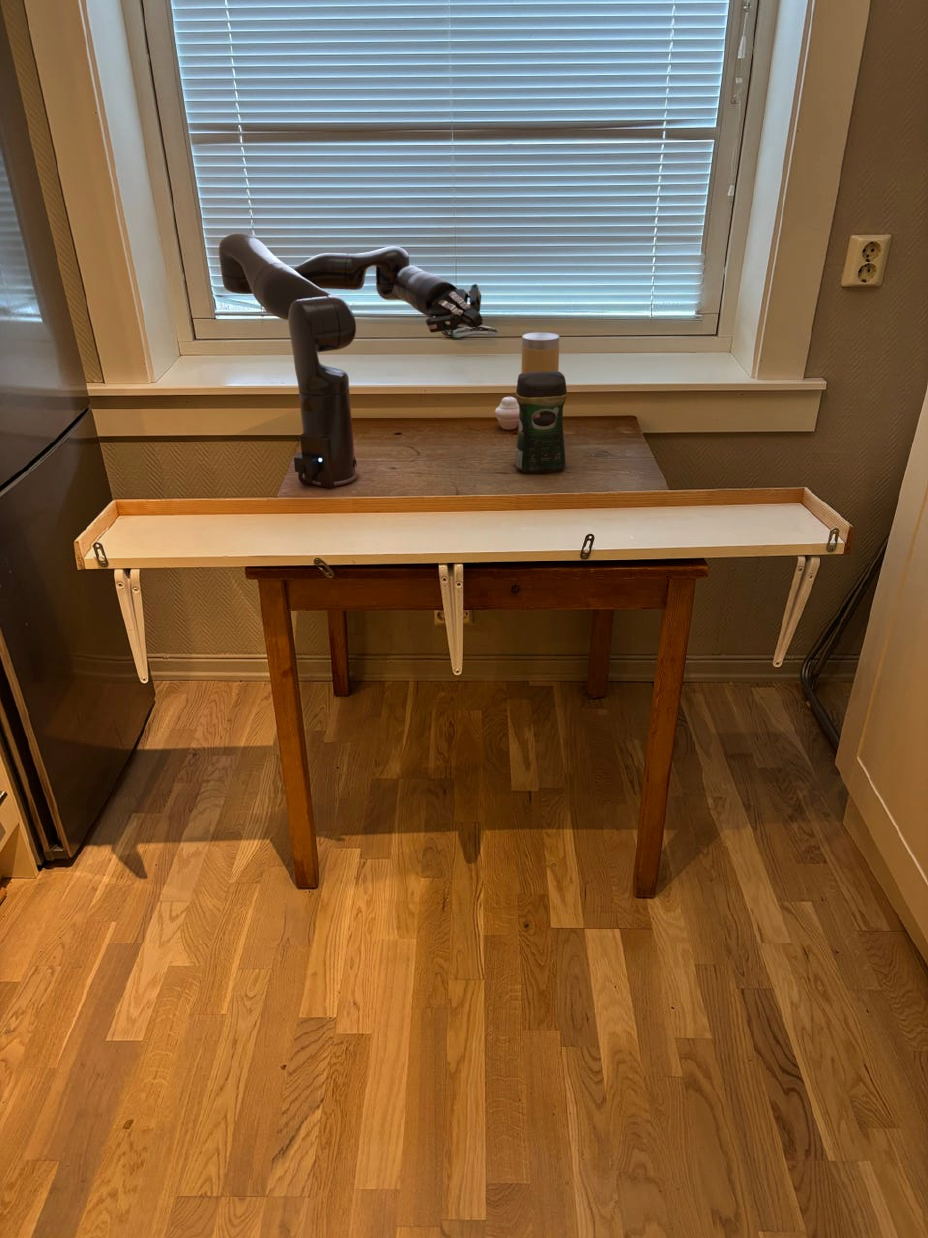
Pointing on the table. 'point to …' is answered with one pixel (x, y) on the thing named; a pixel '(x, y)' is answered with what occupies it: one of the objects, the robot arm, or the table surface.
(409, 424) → the table surface
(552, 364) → the tin cans
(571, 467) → the table surface
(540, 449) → the coffee jar
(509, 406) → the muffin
